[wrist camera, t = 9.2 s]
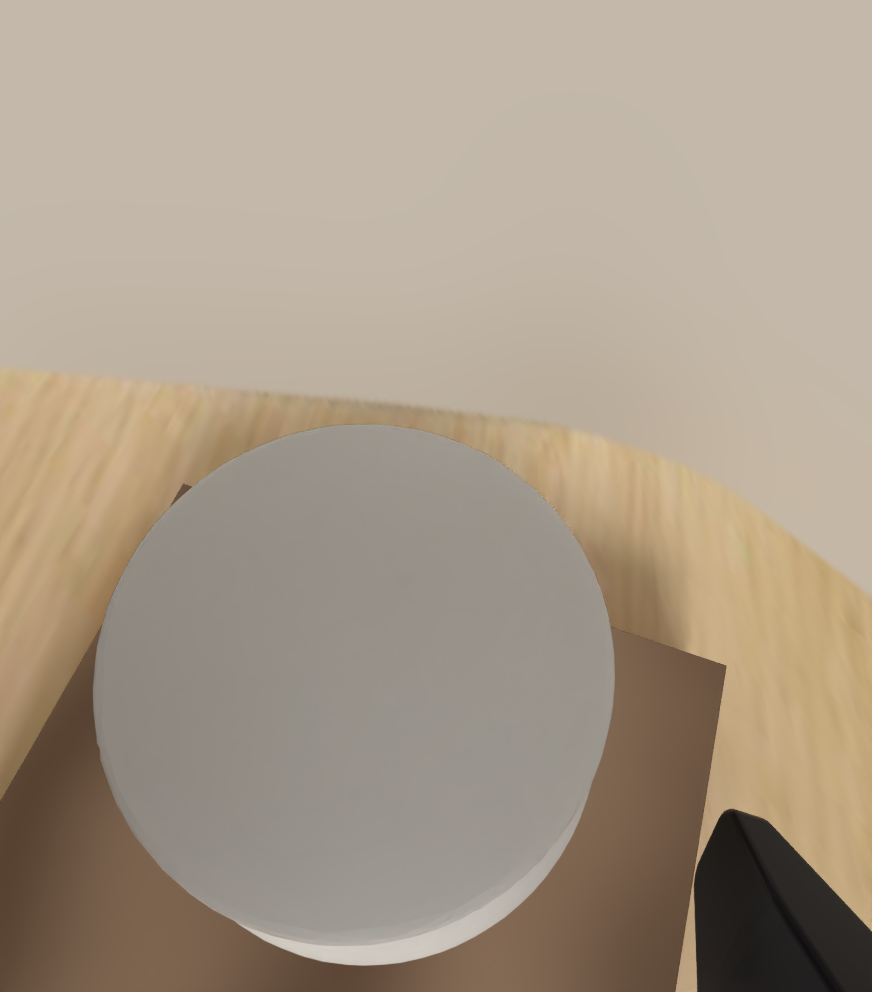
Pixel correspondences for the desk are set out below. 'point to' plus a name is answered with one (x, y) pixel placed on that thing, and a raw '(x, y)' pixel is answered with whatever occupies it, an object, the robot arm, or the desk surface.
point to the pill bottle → (356, 692)
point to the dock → (373, 988)
